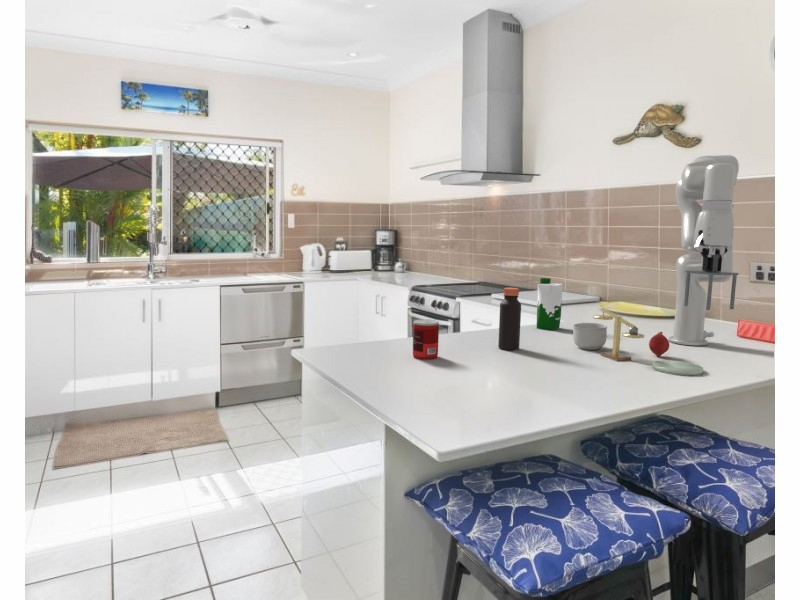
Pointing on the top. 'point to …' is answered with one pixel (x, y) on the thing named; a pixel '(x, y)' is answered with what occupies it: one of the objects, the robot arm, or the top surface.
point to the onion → (659, 344)
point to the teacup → (589, 335)
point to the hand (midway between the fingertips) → (711, 270)
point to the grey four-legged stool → (711, 273)
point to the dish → (677, 367)
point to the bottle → (510, 320)
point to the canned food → (425, 339)
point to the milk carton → (549, 304)
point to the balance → (618, 335)
